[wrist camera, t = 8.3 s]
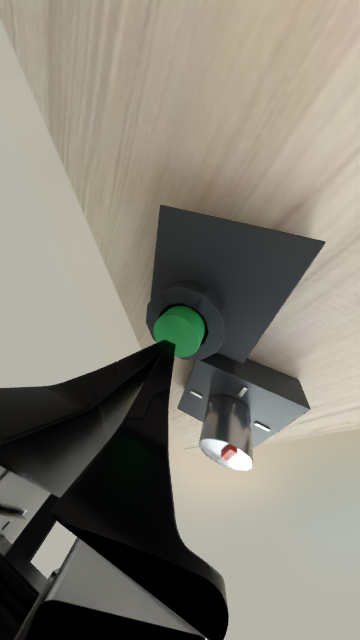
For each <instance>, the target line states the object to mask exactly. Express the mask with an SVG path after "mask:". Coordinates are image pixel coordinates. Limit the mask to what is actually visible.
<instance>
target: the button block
mask: <svg viewBox="0 0 360 640" xmlns="http://www.w3.org/2000/svg"><path fill="white" fill-rule="evenodd" d="M324 244H325V241H321V240H316V239H312V238H307V237H303V236H298V235H294V234H289V233H285V232H280V231H276V230H272V229H267V228H263V227H258V226H254V225H249V224H245V223H240V222H236V221H231V220H227V219H222V218H218V217H214V216H209V215H205V214H200V213H196V212H191V211H187V210H182V209H178V208H173V207H169V206H164V205H160V212H159V222H158V232H157V242H156V252H155V262H154V272H153V282H152V292H151V301H150V302H149V303H148V306H147V317H146V323H147V326H148V328H149V330H150V333H151V335H152V338H153V339H154V340H155V337H154V332H153V329H154V325H155V323H156V321H157V320H158V319H159V318H160V317H161V316H162V315H163V314H164V313H165V312H166V311H167V310H169V309H170V308H171V307H174V306H187V307H190V308H192V309H193V310H195V311H196V312H197V313H198V314H199V315H200V316H201V317H202V319H203V321H204V324H205V333H204V336H203V339H202V341H201V344H200V346H199V348H198V350H197V351H196V352H195V353H194V354H193V355H191V356H188V357H179V358H181V359H187V360H202V359H204V358H206V357H208V356H210V355H212V354H214V353H216V352H217V353H219V354H222V355H224V356H226V357H229V358H231V359H234V360H236V361H238V362H241V363H244V362H245V360H246V359H247V357H248V356H249V354H250V353H251V351H252V350H253V348H254V347H255V345H256V344H257V342H258V341H259V340H260V338H261V337H262V335H263V334H264V332H265V331H266V329H267V328H268V326H269V325H270V323H271V322H272V321H273V319H274V318H275V316H276V315H277V313H278V312H279V310H280V309H281V307H282V306H283V304H284V303H285V302H286V300H287V299H288V297H289V296H290V294H291V293H292V291H293V290H294V288H295V287H296V285H297V284H298V283H299V281H300V280H301V278H302V277H303V275H304V274H305V272H306V271H307V269H308V268H309V266H310V265H311V263H312V262H313V261H314V259H315V258H316V256H317V255H318V253H319V252H320V250H321V249H322V247H323V246H324ZM155 341H156V340H155Z"/></svg>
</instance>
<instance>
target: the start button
mask: <svg viewBox="0 0 360 640" xmlns="http://www.w3.org/2000/svg"><path fill="white" fill-rule="evenodd" d="M153 332H154V337H155V340H156V342H157V343H158V342H160V341H162V340H167V341H170V342H172V343H174V344H176V348H175V356H177V357H188V356H191V355H193V354H194V353H195V352H196V351H197V350H198V348H199V346H200V344H201V341H202V339H203V336H204V333H205V324H204V321H203V319H202V317H201V316H200V315H199V314H198V313H197V312H196V311H195V310H193V309H192V308H190V307H187V306H174V307H171V308H170V309H169V310H167V311H166V312H165V313H164V314H163V315H162V316H161V317H160V318H159V319H158V320H157V321H156V323H155V325H154V329H153Z"/></svg>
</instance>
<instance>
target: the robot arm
mask: <svg viewBox="0 0 360 640" xmlns="http://www.w3.org/2000/svg"><path fill="white" fill-rule="evenodd" d="M175 348H176V344H174V343H172V342H170V341H167V340H162V341H160V342H158V343H156V344H153V345H151V346H149V347H147V348H145V349H143V350H140V351H138V352H136V353H134V354H132V355H130V356H128V357H125V358H123V359H121V360H119V361H118V362H115V363H112V364H110V365H108V366H106V367H103V368H101V369H98V370H96V371H93V372H91V373H88V374H85V375H82V376H80V377H77V378H74V379H71V380H68V381H66V382H63V383H60V384H56V385H51V386H42V387H19V388H0V640H223V639H224V637H225V634H226V631H227V627H228V617H229V616H228V608H227V600H226V592H225V584H224V580H223V577H222V576H221V575H220V574H219V573H218V572H217V571H216V570H215V569H214V568H213V567H212V566H210V565H209V564H208V563H207V562H205V561H204V560H203V559H201V558H200V557H198V556H197V555H196V554H194V553H193V552H192V551H190V550H189V549H188V548H187V547H186V546H185V545H184V543H183V541H182V539H181V538H180V535H179V532H178V529H177V525H176V520H175V511H174V502H173V493H172V484H171V476H170V467H169V452H168V406H169V394H170V386H171V379H172V371H173V363H174V356H175ZM56 521H58V522H59V523H60V524H61V525H63V526H64V527H65V528H67V529H68V530H69V531H71V532H72V533H73V534H74V535H76V536H77V539H76V541H75V542H74V544H73V546H72V547H71V549H70V551H69V553H68V555H67V556H66V558H65V560H64V562H63V564H62V566H61V567H60V568H58V569H56V570H55V571H53V572H52V574H51V576H50V577H49V579H47V578H46V577H45V576H44V575H43V574H41V572H40V571H39V570H38V569H36V567H35V566H34V565H33V564H32V563H30V562H31V560H32V558H33V557H34V555H35V554H36V552H37V551H38V549H39V548H40V546H41V545H42V543H43V541H44V540H45V538H46V537H47V535H48V533H49V532H50V531H51V529H52V527H53V526H54V524H55V523H56Z"/></svg>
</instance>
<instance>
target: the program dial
mask: <svg viewBox="0 0 360 640" xmlns="http://www.w3.org/2000/svg"><path fill="white" fill-rule="evenodd" d="M199 447H200V449H201V450H202V452H203V453H204V454H205V455H206V456H208V457H209V458H210V459H212V460H213V461H215V462H217V463H218V464H221V465H223V466H225V467H228V468H231V469H235V470H241V471H244V470H250V469H251V468H252V467H253V457H252V433H251V413H250V411H249V409H248V408H247V406H246V405H245V404H243V403H242V402H240V401H239V400H237V399H235V398H232V397H229V396H223V395H218V396H213V397H211V398H210V399H209V400H208V403H207V407H206V412H205V417H204V421H203V426H202V431H201V435H200V440H199Z"/></svg>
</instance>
